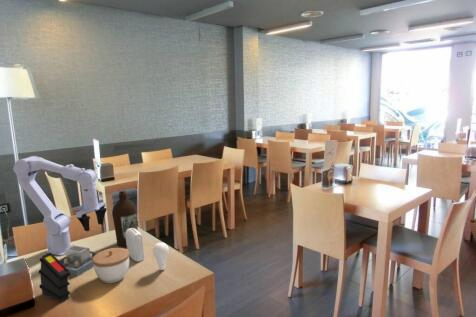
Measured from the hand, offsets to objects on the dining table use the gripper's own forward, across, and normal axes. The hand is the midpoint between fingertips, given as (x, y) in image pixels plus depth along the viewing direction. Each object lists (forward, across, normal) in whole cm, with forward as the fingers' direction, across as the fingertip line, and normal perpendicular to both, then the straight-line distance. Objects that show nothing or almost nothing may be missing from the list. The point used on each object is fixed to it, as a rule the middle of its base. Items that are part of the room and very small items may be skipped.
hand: (94, 227), depth 145 cm
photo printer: (+11, 0, -22) cm, 24 cm away
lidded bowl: (+11, -16, -25) cm, 31 cm away
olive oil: (+11, +10, -9) cm, 17 cm away
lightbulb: (+11, -5, -39) cm, 41 cm away
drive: (+9, -13, -4) cm, 17 cm away
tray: (+10, -13, -4) cm, 17 cm away
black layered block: (+11, -32, -15) cm, 37 cm away
